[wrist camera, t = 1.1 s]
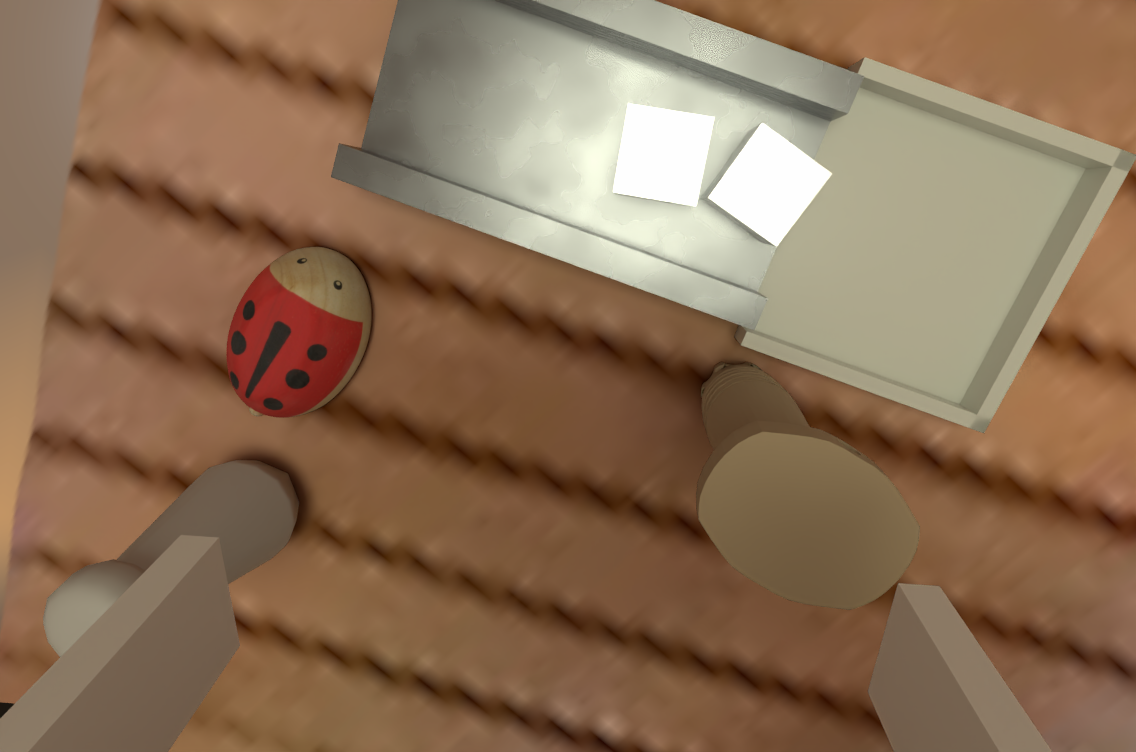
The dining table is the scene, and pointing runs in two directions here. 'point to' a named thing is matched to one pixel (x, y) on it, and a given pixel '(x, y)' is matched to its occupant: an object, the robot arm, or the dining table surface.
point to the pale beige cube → (662, 155)
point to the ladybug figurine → (299, 333)
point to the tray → (933, 245)
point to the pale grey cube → (765, 185)
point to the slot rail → (584, 132)
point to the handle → (796, 498)
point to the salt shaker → (206, 508)
